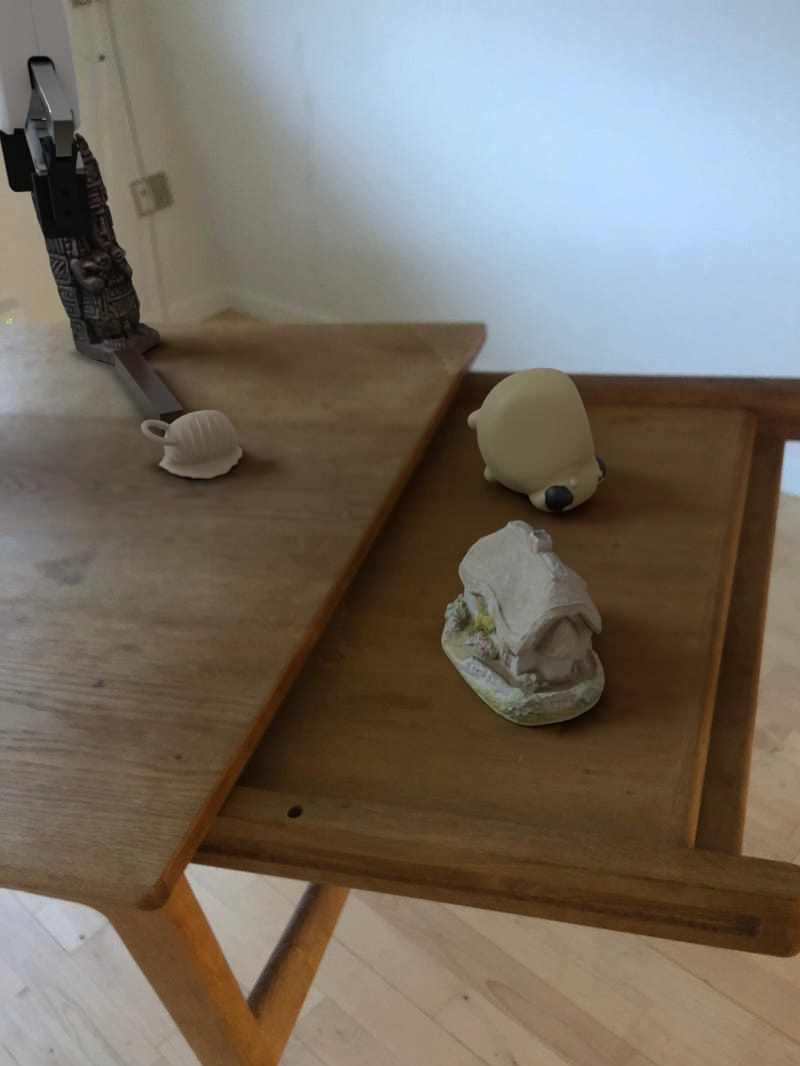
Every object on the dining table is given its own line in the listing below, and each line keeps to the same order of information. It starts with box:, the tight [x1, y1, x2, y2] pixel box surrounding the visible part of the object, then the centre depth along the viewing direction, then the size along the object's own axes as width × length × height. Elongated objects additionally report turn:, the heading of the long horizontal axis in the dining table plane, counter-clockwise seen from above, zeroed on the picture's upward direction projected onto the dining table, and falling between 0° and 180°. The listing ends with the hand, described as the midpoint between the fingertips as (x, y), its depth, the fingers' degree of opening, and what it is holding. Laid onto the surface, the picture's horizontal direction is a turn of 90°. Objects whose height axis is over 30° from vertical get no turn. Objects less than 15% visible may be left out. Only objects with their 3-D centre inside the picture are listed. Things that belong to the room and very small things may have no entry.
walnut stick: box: [112, 347, 186, 437], centre depth 89 cm, size 2×14×2 cm, turn 32°
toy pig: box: [467, 367, 607, 513], centre depth 80 cm, size 10×12×11 cm
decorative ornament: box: [140, 409, 243, 480], centre depth 80 cm, size 4×8×5 cm, turn 121°
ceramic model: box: [441, 519, 606, 727], centre depth 63 cm, size 14×11×10 cm
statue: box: [30, 132, 161, 365], centre depth 91 cm, size 7×7×20 cm
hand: (50, 212), depth 67 cm, fingers open, 9 cm apart
